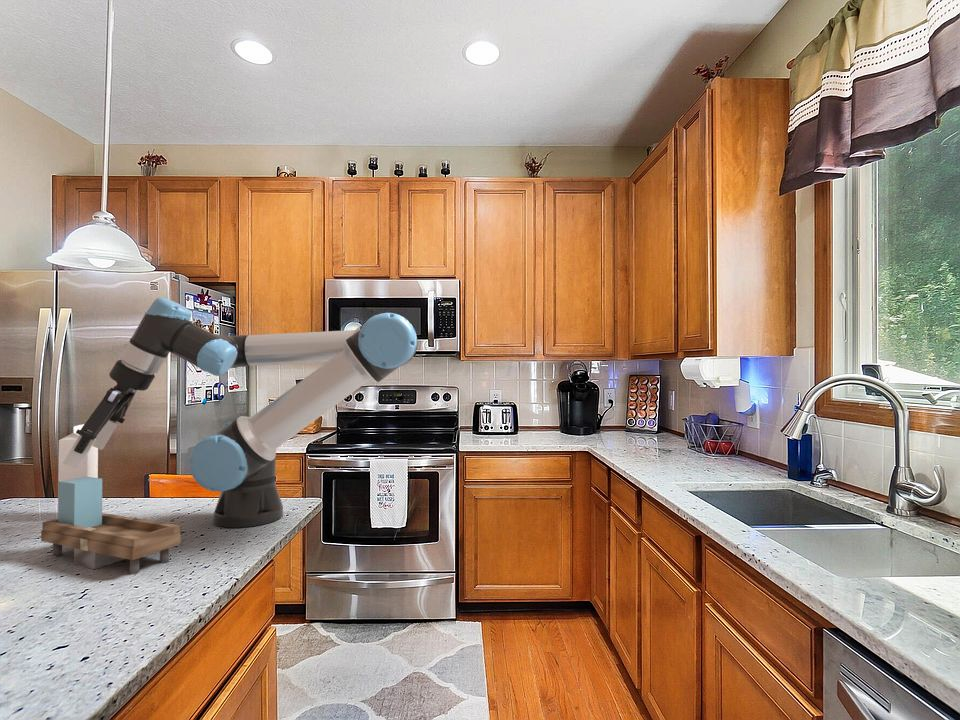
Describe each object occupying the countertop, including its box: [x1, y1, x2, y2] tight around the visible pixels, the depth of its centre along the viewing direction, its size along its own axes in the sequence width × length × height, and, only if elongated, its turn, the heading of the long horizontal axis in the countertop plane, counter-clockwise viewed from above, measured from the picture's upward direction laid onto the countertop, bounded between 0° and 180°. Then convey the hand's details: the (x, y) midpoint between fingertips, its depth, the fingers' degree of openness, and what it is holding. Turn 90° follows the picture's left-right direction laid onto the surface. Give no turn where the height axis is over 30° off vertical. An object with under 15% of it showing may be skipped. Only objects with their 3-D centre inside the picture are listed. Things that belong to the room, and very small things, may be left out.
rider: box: [57, 477, 103, 528], centre depth 103 cm, size 5×5×9 cm
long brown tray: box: [40, 512, 182, 575], centre depth 99 cm, size 26×9×7 cm, turn 67°
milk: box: [57, 423, 99, 482], centre depth 128 cm, size 6×6×22 cm
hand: (83, 455), depth 109 cm, fingers open, 13 cm apart
